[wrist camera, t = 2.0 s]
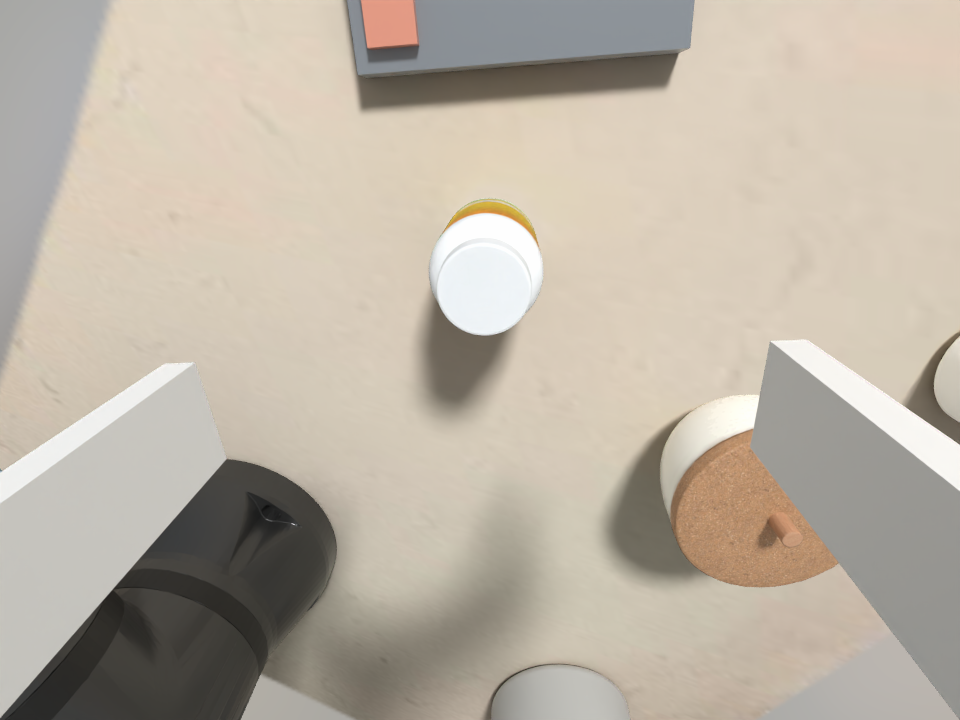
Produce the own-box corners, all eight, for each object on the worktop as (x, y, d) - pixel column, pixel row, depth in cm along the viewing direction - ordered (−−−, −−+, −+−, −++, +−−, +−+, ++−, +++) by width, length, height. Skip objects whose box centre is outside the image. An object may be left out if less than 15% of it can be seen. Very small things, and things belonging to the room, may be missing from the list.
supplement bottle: (438, 202, 28) (407, 233, 20) (532, 191, 28) (544, 216, 19) (451, 293, 31) (429, 357, 22) (539, 284, 30) (553, 345, 21)
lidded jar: (615, 411, 33) (652, 505, 25) (775, 339, 31) (878, 417, 22) (674, 520, 37) (725, 636, 28) (822, 464, 34) (927, 573, 26)
